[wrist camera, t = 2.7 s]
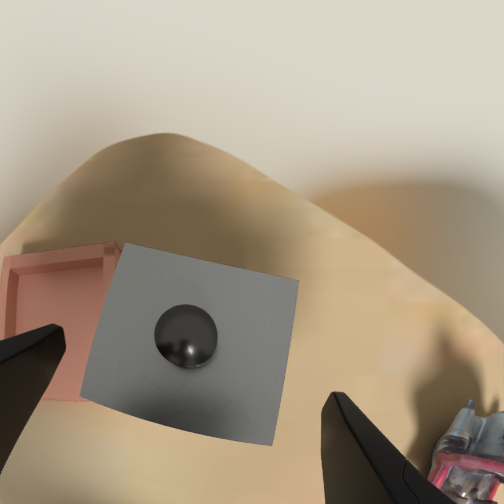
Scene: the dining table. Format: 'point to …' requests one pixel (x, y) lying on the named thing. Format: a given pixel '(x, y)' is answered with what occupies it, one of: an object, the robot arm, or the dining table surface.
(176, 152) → the dining table surface
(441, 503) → the robot arm
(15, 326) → the tray
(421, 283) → the dining table surface
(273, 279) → the knobbed tall block
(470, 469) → the brake caliper
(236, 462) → the dining table surface
